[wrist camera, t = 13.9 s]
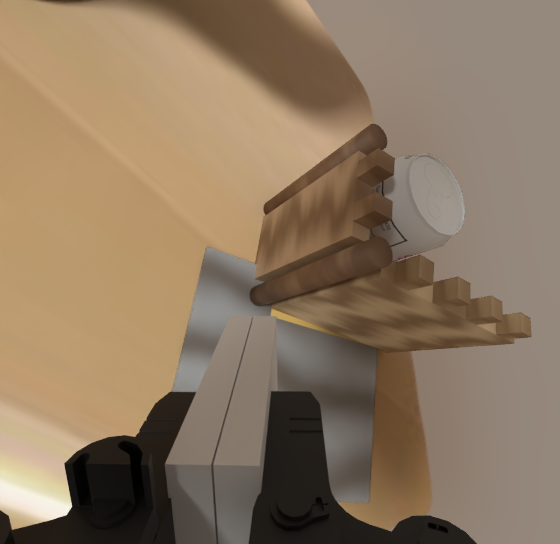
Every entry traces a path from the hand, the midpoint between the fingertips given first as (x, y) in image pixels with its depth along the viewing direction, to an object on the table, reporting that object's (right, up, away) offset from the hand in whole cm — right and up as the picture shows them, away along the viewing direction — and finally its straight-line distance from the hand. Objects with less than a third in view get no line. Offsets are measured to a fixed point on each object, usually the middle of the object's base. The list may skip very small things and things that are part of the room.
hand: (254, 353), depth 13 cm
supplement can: (+6, +6, +30) cm, 31 cm away
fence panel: (+7, -3, +27) cm, 28 cm away
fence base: (+2, -4, +25) cm, 25 cm away
